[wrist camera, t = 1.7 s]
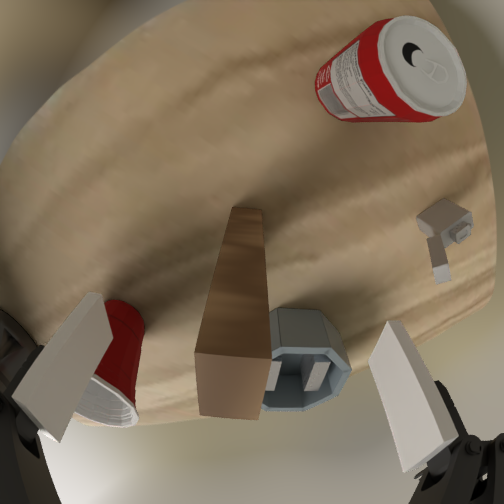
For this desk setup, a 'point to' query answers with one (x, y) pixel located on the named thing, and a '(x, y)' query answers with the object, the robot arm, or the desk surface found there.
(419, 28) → the soda can
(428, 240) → the lighter
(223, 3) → the desk surface
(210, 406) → the brown wooden block
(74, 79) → the desk surface
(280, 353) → the grey faceted bowl
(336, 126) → the desk surface
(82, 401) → the plastic cup
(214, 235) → the desk surface
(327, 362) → the clip
